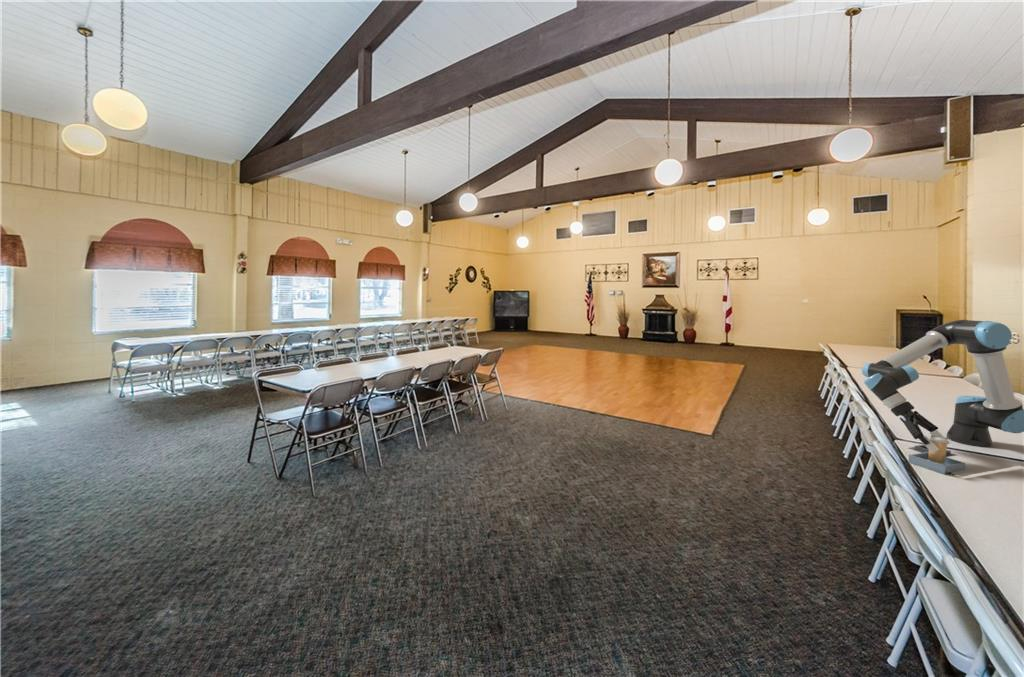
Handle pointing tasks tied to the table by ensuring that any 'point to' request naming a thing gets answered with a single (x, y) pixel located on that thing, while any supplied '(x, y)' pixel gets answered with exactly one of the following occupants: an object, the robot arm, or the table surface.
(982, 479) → the table surface
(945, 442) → the ball
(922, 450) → the block
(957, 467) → the parts tray
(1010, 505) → the table surface
